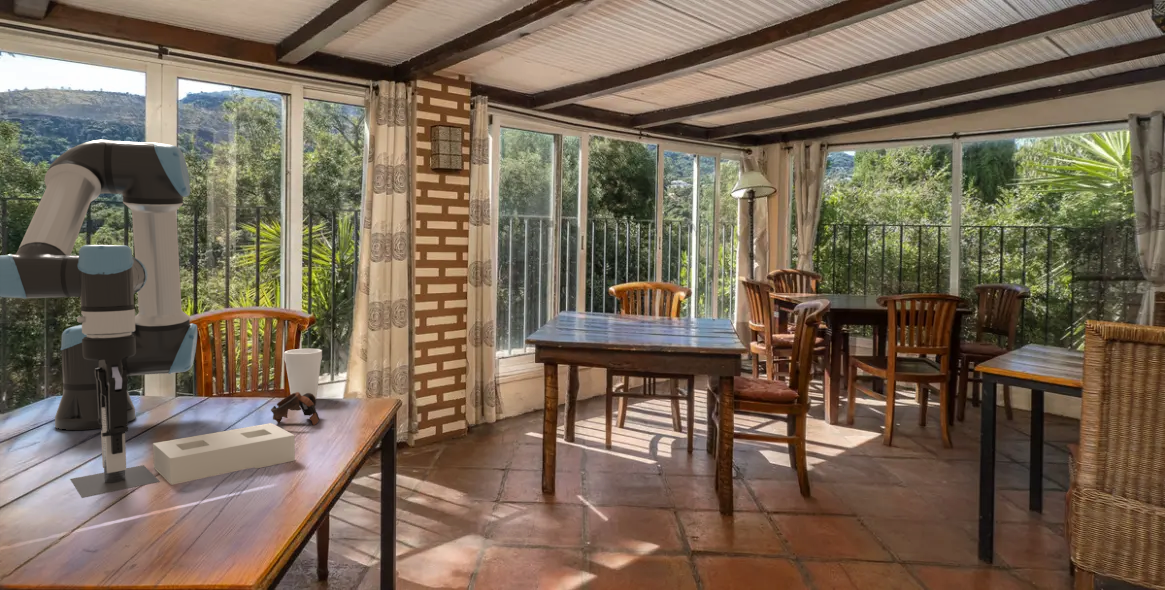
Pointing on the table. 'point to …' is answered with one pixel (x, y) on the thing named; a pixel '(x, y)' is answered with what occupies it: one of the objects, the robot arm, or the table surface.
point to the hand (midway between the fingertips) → (114, 468)
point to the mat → (98, 486)
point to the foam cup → (303, 370)
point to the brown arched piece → (296, 406)
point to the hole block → (223, 452)
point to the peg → (108, 477)
